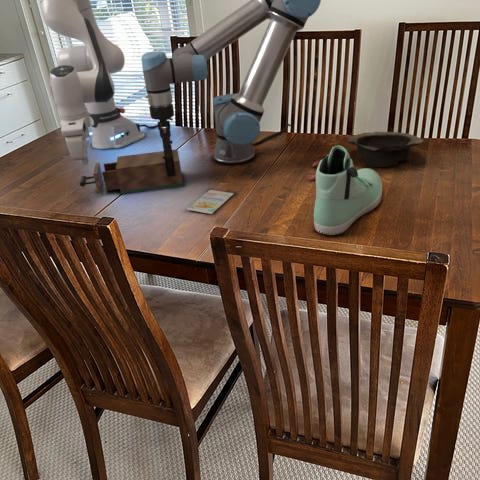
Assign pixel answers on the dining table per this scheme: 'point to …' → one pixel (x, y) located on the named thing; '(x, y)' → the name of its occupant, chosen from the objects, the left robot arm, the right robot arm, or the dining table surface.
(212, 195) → the baking ingredient package
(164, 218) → the dining table surface
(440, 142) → the dining table surface
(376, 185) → the sneaker
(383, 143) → the stone bowl
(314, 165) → the candy cane
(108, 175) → the drawer
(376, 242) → the dining table surface
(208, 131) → the dining table surface
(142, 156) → the cabinet
